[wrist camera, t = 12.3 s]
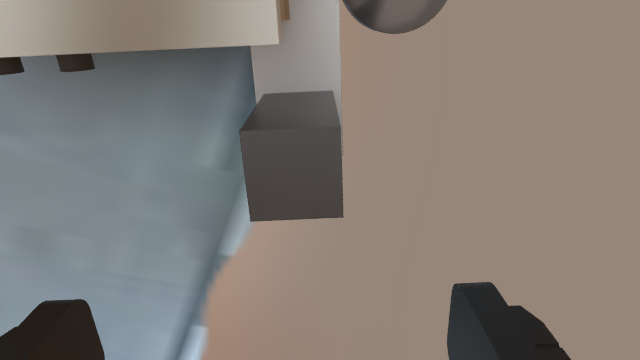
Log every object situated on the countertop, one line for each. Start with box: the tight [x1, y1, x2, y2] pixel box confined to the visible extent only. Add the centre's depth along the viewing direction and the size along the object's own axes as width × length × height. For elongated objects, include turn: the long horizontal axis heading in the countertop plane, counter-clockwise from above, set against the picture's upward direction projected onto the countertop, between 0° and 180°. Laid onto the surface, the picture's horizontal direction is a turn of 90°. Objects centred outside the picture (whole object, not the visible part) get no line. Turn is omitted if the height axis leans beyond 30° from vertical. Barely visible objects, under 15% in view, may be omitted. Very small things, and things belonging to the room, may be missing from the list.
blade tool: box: [239, 0, 343, 221], centre depth 19 cm, size 5×14×9 cm, turn 3°
